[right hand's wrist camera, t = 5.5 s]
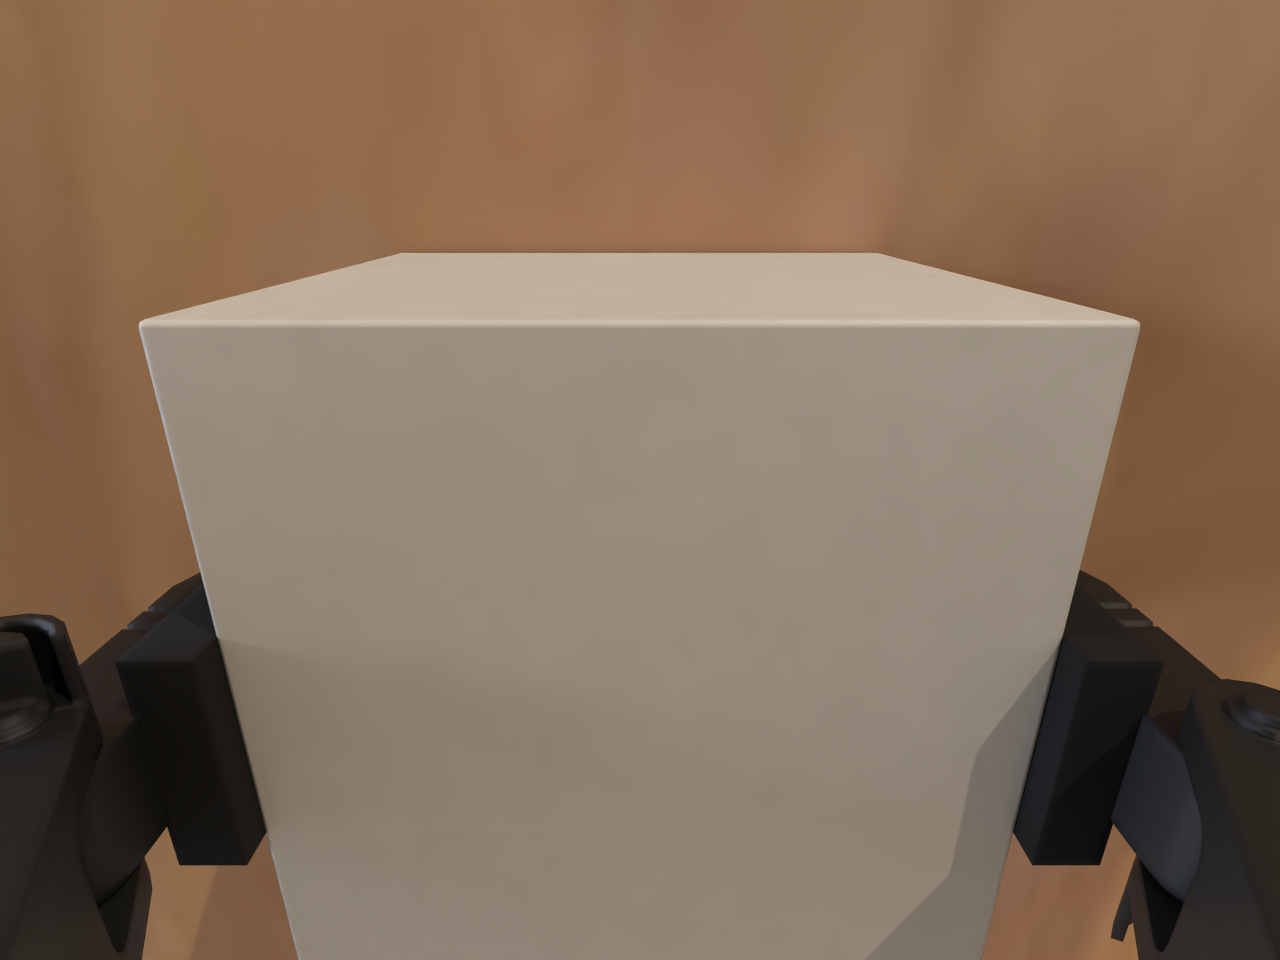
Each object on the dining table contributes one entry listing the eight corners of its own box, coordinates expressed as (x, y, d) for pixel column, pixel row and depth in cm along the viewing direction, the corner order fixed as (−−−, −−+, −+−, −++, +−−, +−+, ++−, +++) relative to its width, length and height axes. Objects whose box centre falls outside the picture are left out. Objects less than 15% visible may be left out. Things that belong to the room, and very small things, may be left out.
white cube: (830, 670, 17) (969, 1015, 10) (448, 670, 17) (310, 1016, 10) (879, 253, 13) (1147, 320, 6) (399, 252, 13) (132, 320, 6)
